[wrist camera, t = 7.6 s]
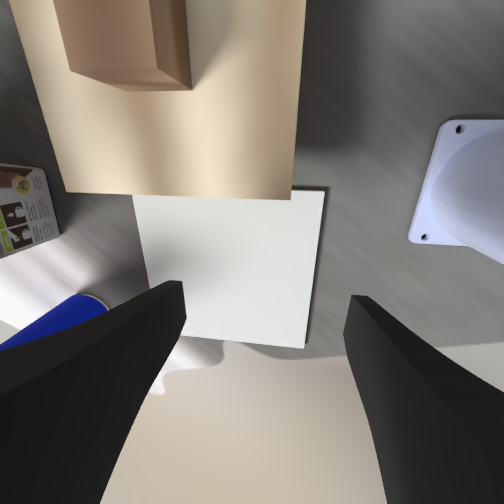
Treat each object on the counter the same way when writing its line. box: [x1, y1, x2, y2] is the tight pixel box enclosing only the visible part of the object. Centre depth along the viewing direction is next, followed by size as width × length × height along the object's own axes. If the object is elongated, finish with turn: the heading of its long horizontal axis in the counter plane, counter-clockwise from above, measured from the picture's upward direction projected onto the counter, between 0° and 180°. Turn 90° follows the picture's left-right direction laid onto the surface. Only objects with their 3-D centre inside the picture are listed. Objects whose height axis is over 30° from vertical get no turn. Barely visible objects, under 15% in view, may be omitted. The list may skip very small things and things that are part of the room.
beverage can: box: [0, 294, 110, 351], centre depth 19 cm, size 5×5×15 cm
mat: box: [132, 190, 325, 349], centre depth 21 cm, size 15×15×1 cm
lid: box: [9, 0, 306, 200], centre depth 10 cm, size 14×14×4 cm
